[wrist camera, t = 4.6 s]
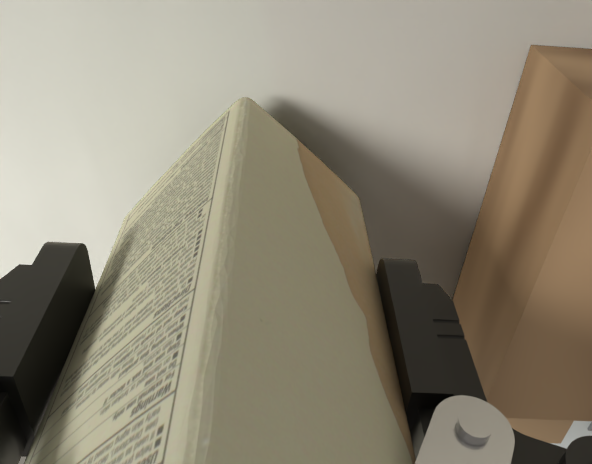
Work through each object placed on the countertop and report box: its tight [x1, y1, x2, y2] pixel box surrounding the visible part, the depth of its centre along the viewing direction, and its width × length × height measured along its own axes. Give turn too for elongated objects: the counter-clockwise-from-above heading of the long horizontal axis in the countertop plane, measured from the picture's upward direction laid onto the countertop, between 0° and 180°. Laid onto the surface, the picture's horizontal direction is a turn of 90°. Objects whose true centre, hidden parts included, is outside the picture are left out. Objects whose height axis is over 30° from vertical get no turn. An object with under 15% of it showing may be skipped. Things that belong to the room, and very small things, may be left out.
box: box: [24, 97, 416, 464], centre depth 10 cm, size 5×4×11 cm
